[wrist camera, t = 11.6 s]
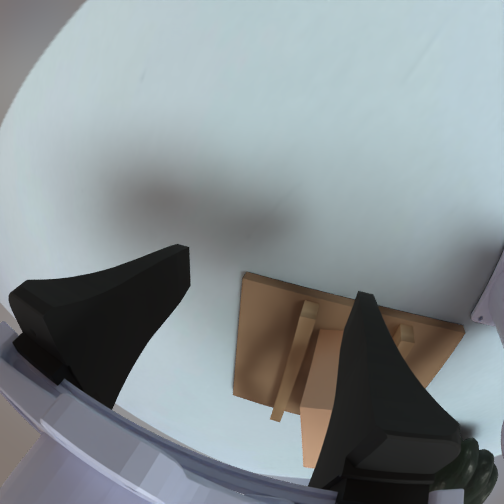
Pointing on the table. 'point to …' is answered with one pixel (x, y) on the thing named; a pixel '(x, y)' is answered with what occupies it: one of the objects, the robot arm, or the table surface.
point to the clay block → (319, 394)
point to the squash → (468, 473)
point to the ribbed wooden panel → (305, 339)
